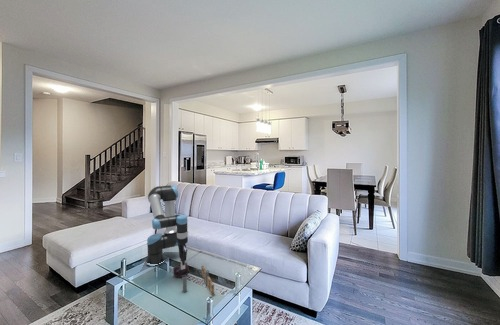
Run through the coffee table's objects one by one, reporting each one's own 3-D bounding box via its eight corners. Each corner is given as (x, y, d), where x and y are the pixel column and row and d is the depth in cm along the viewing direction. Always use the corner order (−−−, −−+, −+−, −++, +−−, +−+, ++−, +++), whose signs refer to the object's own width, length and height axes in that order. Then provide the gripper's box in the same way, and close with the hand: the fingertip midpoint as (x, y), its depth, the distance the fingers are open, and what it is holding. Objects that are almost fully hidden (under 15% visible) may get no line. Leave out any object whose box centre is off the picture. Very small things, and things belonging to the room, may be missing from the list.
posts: (182, 290, 153) (181, 275, 153) (208, 283, 161) (208, 268, 161) (182, 293, 151) (182, 277, 150) (209, 285, 158) (209, 270, 158)
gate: (207, 283, 161) (207, 273, 161) (206, 284, 160) (205, 274, 160) (203, 275, 172) (203, 265, 172) (201, 275, 172) (201, 266, 171)
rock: (173, 276, 174) (177, 282, 165) (171, 265, 173) (174, 271, 164) (188, 269, 180) (192, 274, 172) (186, 259, 179) (190, 264, 171)
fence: (207, 286, 158) (206, 276, 157) (209, 285, 158) (208, 275, 158) (212, 296, 147) (211, 285, 147) (214, 295, 148) (213, 284, 147)
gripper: (190, 238, 160) (191, 270, 162) (184, 233, 171) (184, 263, 172) (180, 241, 156) (181, 274, 157) (174, 235, 166) (175, 266, 168)
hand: (183, 268), depth 165 cm, fingers closed
